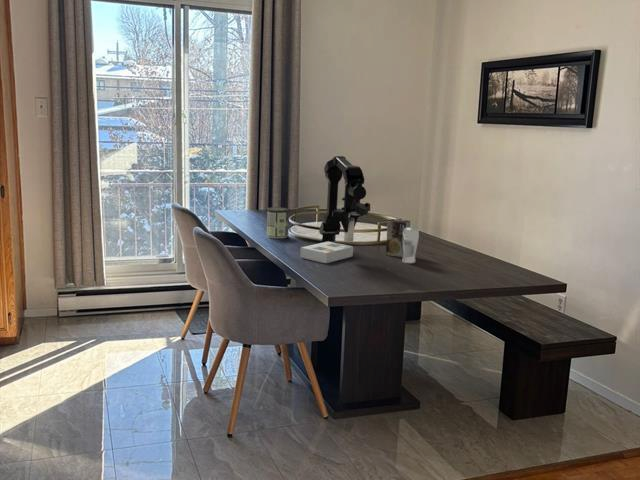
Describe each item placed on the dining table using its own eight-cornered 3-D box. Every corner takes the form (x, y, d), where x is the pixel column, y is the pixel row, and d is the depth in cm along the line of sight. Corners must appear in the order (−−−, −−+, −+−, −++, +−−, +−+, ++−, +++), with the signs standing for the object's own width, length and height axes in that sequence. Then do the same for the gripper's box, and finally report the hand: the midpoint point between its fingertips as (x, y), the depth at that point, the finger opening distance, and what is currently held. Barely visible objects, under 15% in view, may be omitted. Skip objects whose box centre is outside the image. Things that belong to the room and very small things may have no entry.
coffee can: (274, 233, 337) (275, 206, 334) (290, 236, 331) (291, 208, 328) (262, 236, 328) (262, 208, 325) (278, 239, 323) (279, 211, 320)
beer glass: (406, 264, 284) (409, 230, 281) (397, 260, 290) (400, 227, 287) (419, 263, 287) (422, 229, 284) (410, 259, 293) (413, 226, 290)
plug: (347, 239, 287) (348, 217, 285) (354, 241, 285) (356, 218, 283) (342, 240, 284) (343, 218, 282) (349, 242, 282) (351, 219, 280)
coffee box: (408, 255, 303) (411, 220, 299) (404, 257, 297) (406, 222, 294) (389, 252, 306) (392, 218, 303) (384, 255, 301) (387, 220, 297)
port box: (327, 250, 303) (328, 240, 302) (352, 256, 295) (353, 245, 294) (300, 257, 288) (300, 246, 287) (325, 263, 279) (326, 252, 278)
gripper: (354, 200, 268) (352, 237, 272) (378, 196, 283) (376, 231, 286) (332, 196, 275) (330, 233, 278) (357, 193, 289) (355, 227, 293)
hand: (348, 231), depth 284 cm, fingers closed on plug, 4 cm apart
